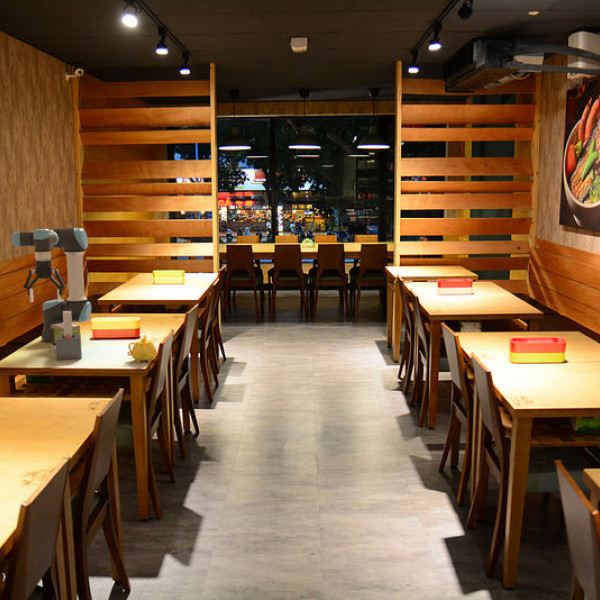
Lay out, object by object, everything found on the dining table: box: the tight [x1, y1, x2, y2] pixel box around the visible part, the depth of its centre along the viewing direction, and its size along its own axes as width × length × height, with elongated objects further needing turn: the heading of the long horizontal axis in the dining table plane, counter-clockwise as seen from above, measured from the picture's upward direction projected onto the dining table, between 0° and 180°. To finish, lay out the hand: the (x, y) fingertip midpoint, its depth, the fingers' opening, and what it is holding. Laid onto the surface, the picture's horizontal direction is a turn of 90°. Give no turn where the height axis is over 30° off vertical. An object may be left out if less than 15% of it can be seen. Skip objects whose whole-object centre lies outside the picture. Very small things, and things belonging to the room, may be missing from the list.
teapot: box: [126, 334, 158, 363], centre depth 357 cm, size 20×15×12 cm
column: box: [63, 311, 73, 338], centre depth 358 cm, size 6×4×24 cm
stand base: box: [55, 333, 83, 362], centre depth 359 cm, size 16×16×13 cm
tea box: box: [50, 323, 81, 351], centre depth 377 cm, size 15×10×15 cm, turn 45°
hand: (45, 301), depth 354 cm, fingers open, 13 cm apart
